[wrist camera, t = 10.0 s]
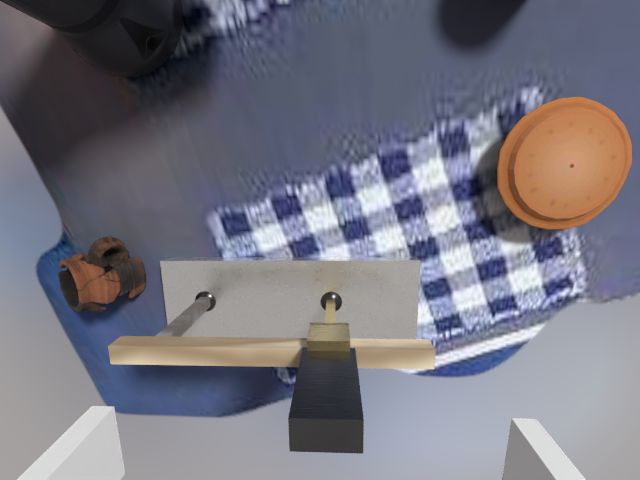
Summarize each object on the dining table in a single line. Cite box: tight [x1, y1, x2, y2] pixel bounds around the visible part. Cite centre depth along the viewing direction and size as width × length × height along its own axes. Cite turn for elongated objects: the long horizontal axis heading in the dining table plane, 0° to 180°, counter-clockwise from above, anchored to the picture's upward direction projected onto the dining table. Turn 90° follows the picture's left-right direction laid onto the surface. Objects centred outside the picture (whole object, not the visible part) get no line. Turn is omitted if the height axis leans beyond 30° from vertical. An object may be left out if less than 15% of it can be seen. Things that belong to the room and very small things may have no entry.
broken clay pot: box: [58, 237, 146, 313], centre depth 44 cm, size 12×10×8 cm
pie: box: [497, 97, 632, 230], centre depth 39 cm, size 16×16×5 cm
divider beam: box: [108, 297, 435, 369], centre depth 37 cm, size 2×32×14 cm, turn 91°
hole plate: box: [160, 257, 420, 339], centre depth 45 cm, size 12×36×2 cm, turn 91°
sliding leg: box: [288, 299, 363, 453], centre depth 32 cm, size 5×5×23 cm
